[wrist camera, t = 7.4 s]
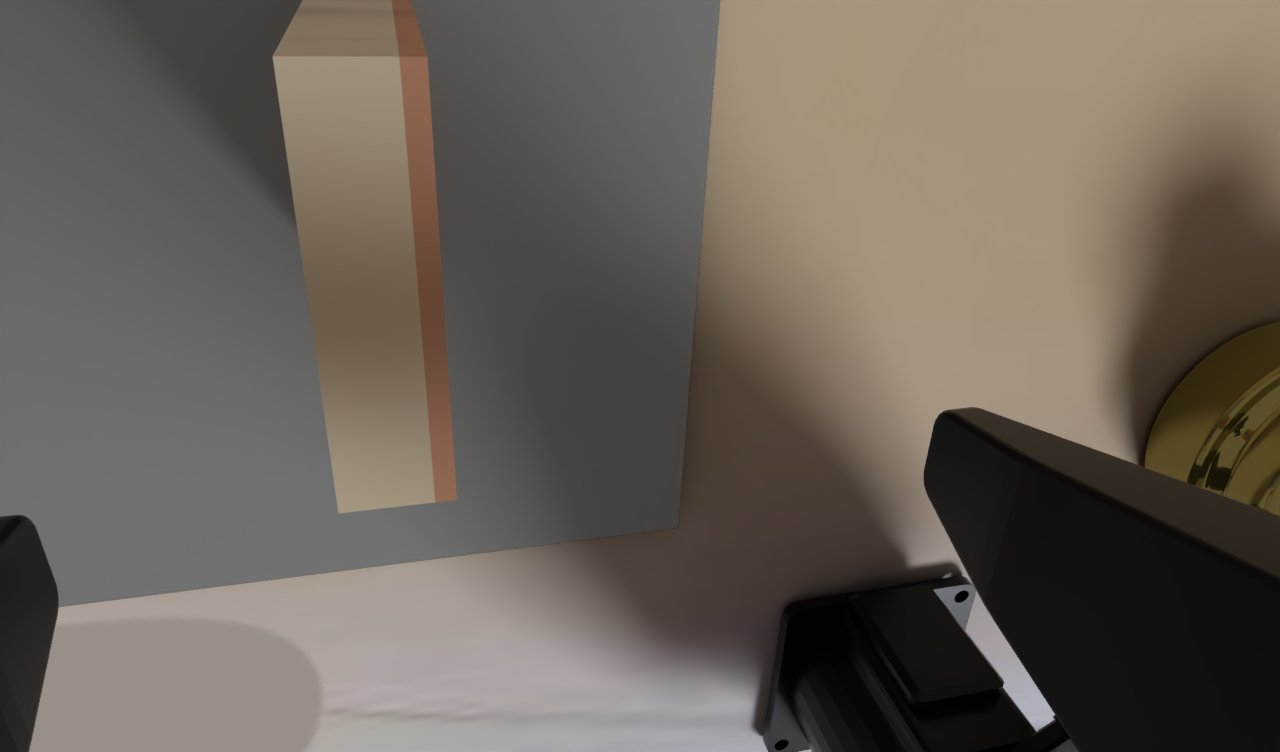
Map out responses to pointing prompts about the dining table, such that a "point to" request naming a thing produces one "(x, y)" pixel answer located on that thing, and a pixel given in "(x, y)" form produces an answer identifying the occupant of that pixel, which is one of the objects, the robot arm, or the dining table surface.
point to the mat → (277, 299)
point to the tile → (370, 246)
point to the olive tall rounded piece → (1226, 422)
